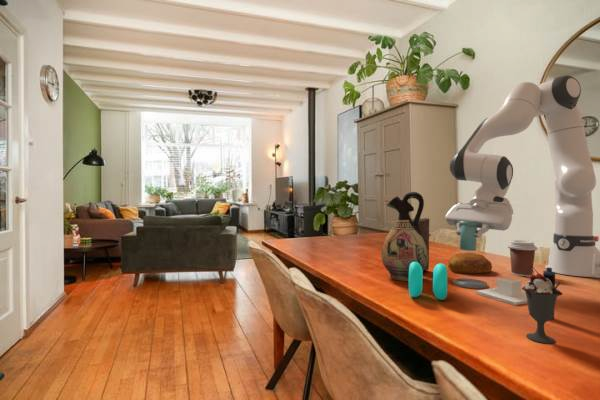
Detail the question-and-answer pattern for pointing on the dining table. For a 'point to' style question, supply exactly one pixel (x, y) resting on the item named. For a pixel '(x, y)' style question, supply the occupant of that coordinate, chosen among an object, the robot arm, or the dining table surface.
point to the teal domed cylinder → (468, 235)
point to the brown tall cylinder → (425, 235)
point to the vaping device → (550, 278)
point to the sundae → (541, 304)
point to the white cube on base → (506, 291)
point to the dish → (470, 283)
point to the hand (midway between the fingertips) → (467, 235)
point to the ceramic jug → (404, 239)
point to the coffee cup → (522, 257)
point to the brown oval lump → (469, 263)
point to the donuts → (438, 280)
